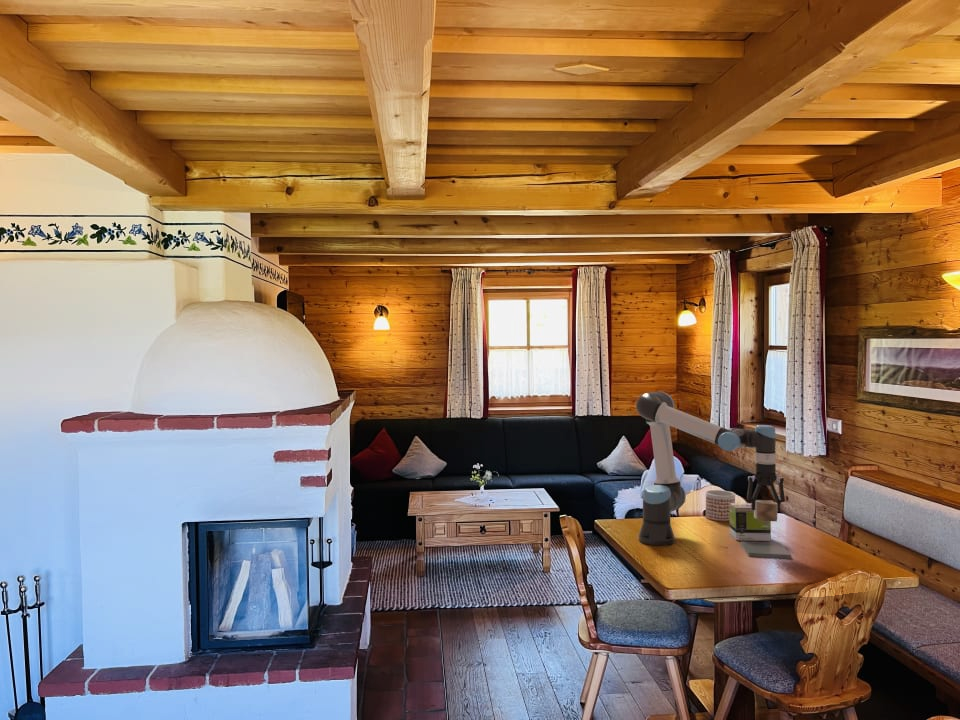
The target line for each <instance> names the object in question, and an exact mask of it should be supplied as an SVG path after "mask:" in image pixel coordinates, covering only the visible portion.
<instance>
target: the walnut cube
mask: <svg viewBox="0 0 960 720" xmlns="http://www.w3.org/2000/svg"><path fill="white" fill-rule="evenodd" d="M756 502H757V520H758V521H771V522H778V511H777V504H776V503H775V502H776V501H774V500H768V499H767V500H763V499H756Z"/></svg>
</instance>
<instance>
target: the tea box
mask: <svg viewBox="0 0 960 720" xmlns="http://www.w3.org/2000/svg"><path fill="white" fill-rule="evenodd" d="M729 508H730V521H729V535H730V536H731V537H732V538H733V539H734V540H735V541H745V542H759V541H760V542H762V541H763V542H771V541H772V535H771V534H772V533H771V532H772V531H771V530H772V529H771V528H772V526H771V525H772V524H771V523H772V521H758V520H757V519H755V518H754V510H752V508H751V503H749V502H747V503H746V502H745V503H743V502H741V503H740V502H739V503H738V502H735V503H730V504H729Z"/></svg>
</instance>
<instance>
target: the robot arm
mask: <svg viewBox="0 0 960 720" xmlns="http://www.w3.org/2000/svg"><path fill="white" fill-rule="evenodd" d="M637 398H638V399H637V400H636V403H635V409H636V412H637V414H639V416H641V417H642V418H643V419H645V422H646V424H647V425H649V428H650V434H651V435H650V437H651V444H652V451H653V459H654V460H653V461H654V467H655V475H656V478H655V480H654V481H653V485H648V486H646V487H644V489H643V491H642V525H641V527H640V530H639V533H638V541H639V542H641V543H643V544H646V545H651V546H671V545H674V544H675V534H674V531H673V527H672V525H671V513H672V512H674V511H677V510H679V509H680V508H681V507H682V506H683V505H684V504H685V502H686V498H687V497H686V495H687V494H686V491H685V489H684V487H682V485H681V480H680V479H679V478H678V477H677V473H676V465H675V458H674V451H673V443H672V433H671V427H672V428H675V429H678V430H680V431H682V432H685V433H687V434H689V435H692V436H695V437H697V438H699V439H702V440H704V441H707V442H709V443H712V444H714V445H716V446H719V448H720V449H721V450H723V451H726V452H733V451H736V450H738V449H740V448H754V449H755V462H756V463H755V474H754V475H752V476H750V475H749V476H747V481H748V483H747V484H748V486H747V493H746V500H747V501H749V502H751V508H752V510H754V518H755V519H757V502H756V500H758V497H759V494H760V492H761V489H762V487H763V486H764V487H765V486H767V487H769V488H770V490H771V492H772V493H771V494H772V495H773V499H774V500H775V501H774V502H775V503H776V504H777V512H780V511H781V503H785V502H786V497H785V491H784V481H785V480H784V479H785V478H783V477H782V476H777V474H776V472H777V471H776V468H777V466H776V462H777V461H776V458H777V457H776V441H777V436H776V428H775V427H774V426H773V425H767V424H758V425H756V426H755V429H748V428H737V427H733V428H731V427H730V428H729V427H728V428H724V427H722V426H720V425H717V424H715V423H713V422H709V421H707V420H704V419H702V418H700V417H697V416H694V415H691V414H689V413H687V412H684V411H683V410H679V409H677V408H675V403H674V400H673V397H672V396H671V395H670V394H668V393H666V392H663V391H653V392H645V393H643V394H641V395H640V396H638V397H637ZM755 480H756V482H757V483H756V487H755V489H754V492H753V487H754V486H753V485H754V481H755ZM775 482H777V484H778V490H779V491H778V492H779V496H778V493H777V490H776V487H775V485H774V483H775Z"/></svg>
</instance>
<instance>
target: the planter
mask: <svg viewBox="0 0 960 720" xmlns="http://www.w3.org/2000/svg"><path fill="white" fill-rule="evenodd" d="M730 503H736V493H734V492H732V491H728V490H721V489H719V490H718V489H711V490H707V491H705V518H706V519H707V520H711V521H715V522H726V523H727V522H728V523H730V508H729V504H730Z"/></svg>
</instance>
